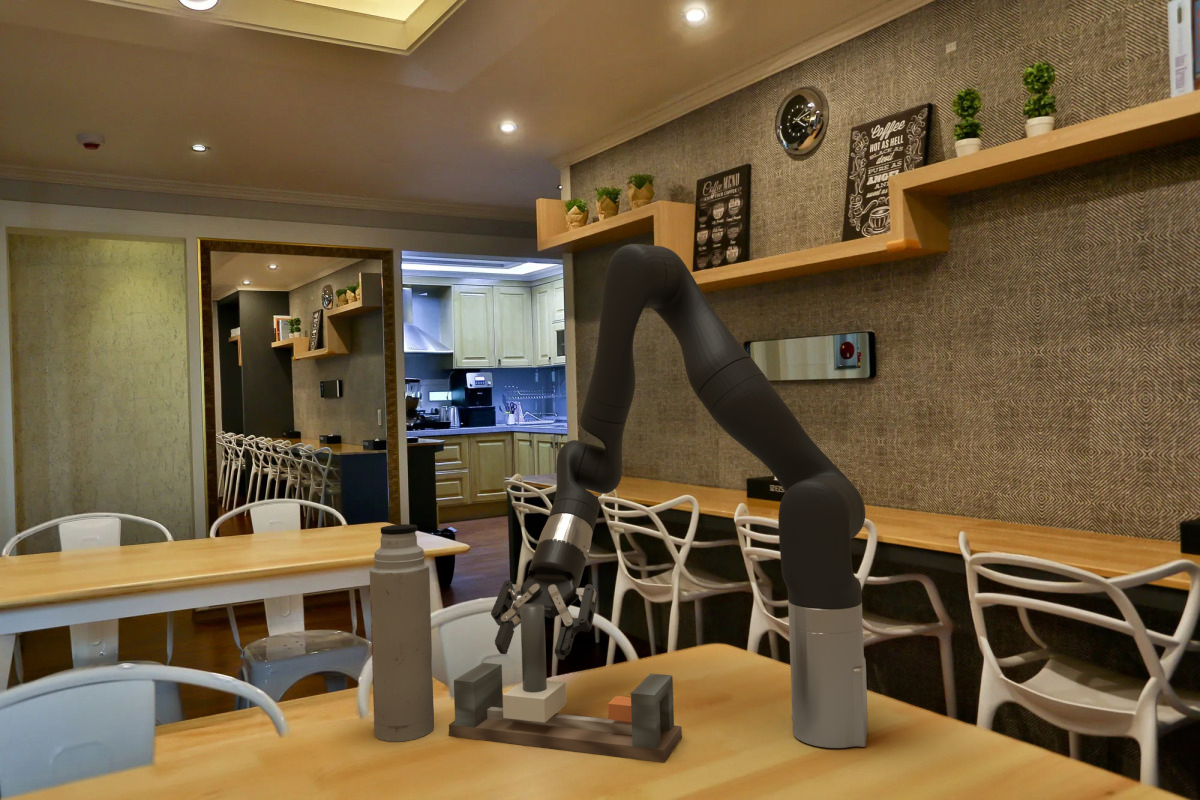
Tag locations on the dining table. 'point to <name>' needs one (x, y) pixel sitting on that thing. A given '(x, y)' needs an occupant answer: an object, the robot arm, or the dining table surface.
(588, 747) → the rail board
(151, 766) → the dining table surface
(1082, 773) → the dining table surface
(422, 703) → the thermos bottle
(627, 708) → the reset pin
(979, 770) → the dining table surface
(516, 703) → the carriage
